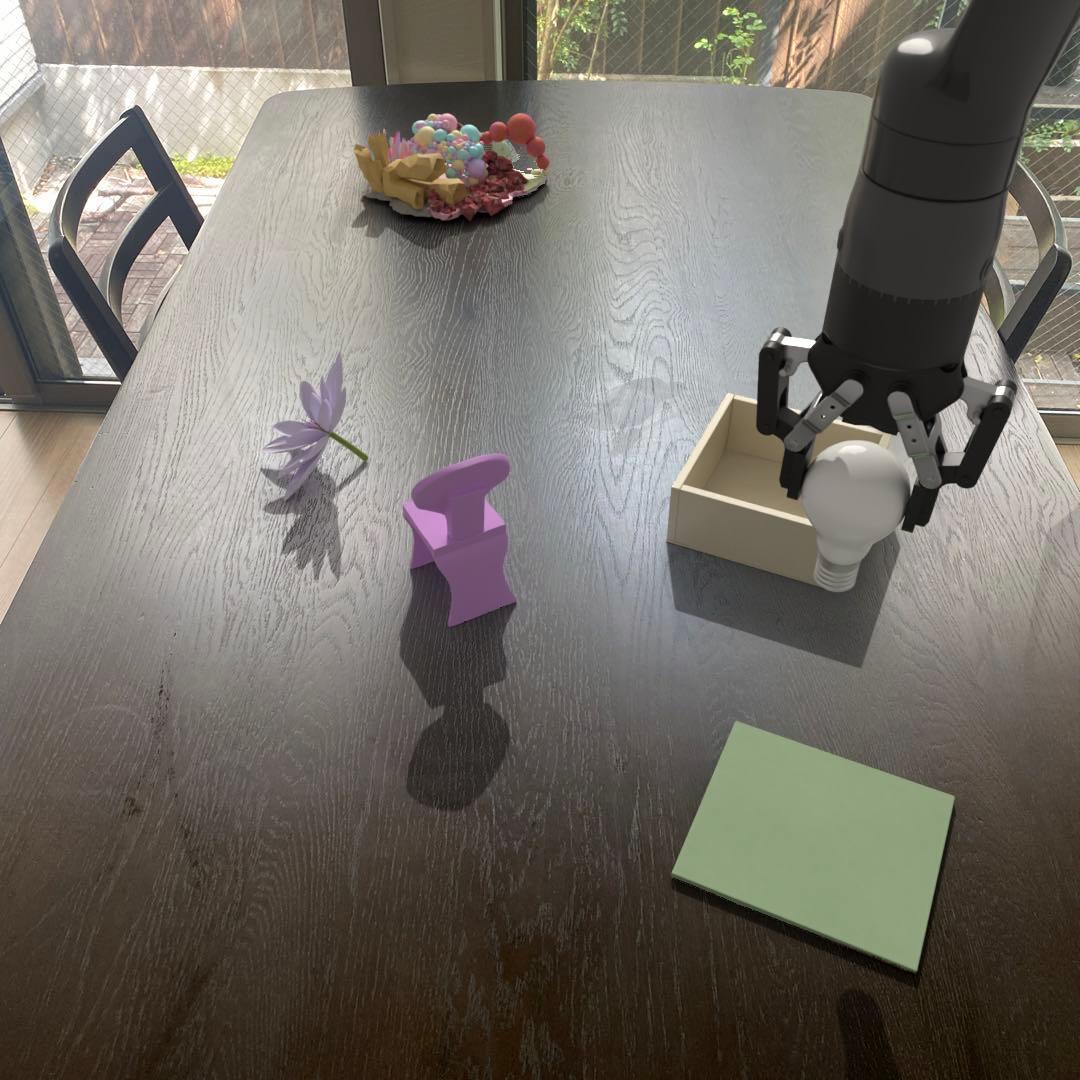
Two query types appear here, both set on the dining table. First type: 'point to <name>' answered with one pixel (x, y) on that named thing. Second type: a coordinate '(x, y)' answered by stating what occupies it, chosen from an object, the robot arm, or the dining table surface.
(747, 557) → the open wooden box
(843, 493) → the lightbulb
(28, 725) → the dining table surface
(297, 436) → the water lily
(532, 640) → the dining table surface
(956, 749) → the dining table surface
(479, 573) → the toy chair
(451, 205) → the candy landscape model
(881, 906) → the mat
